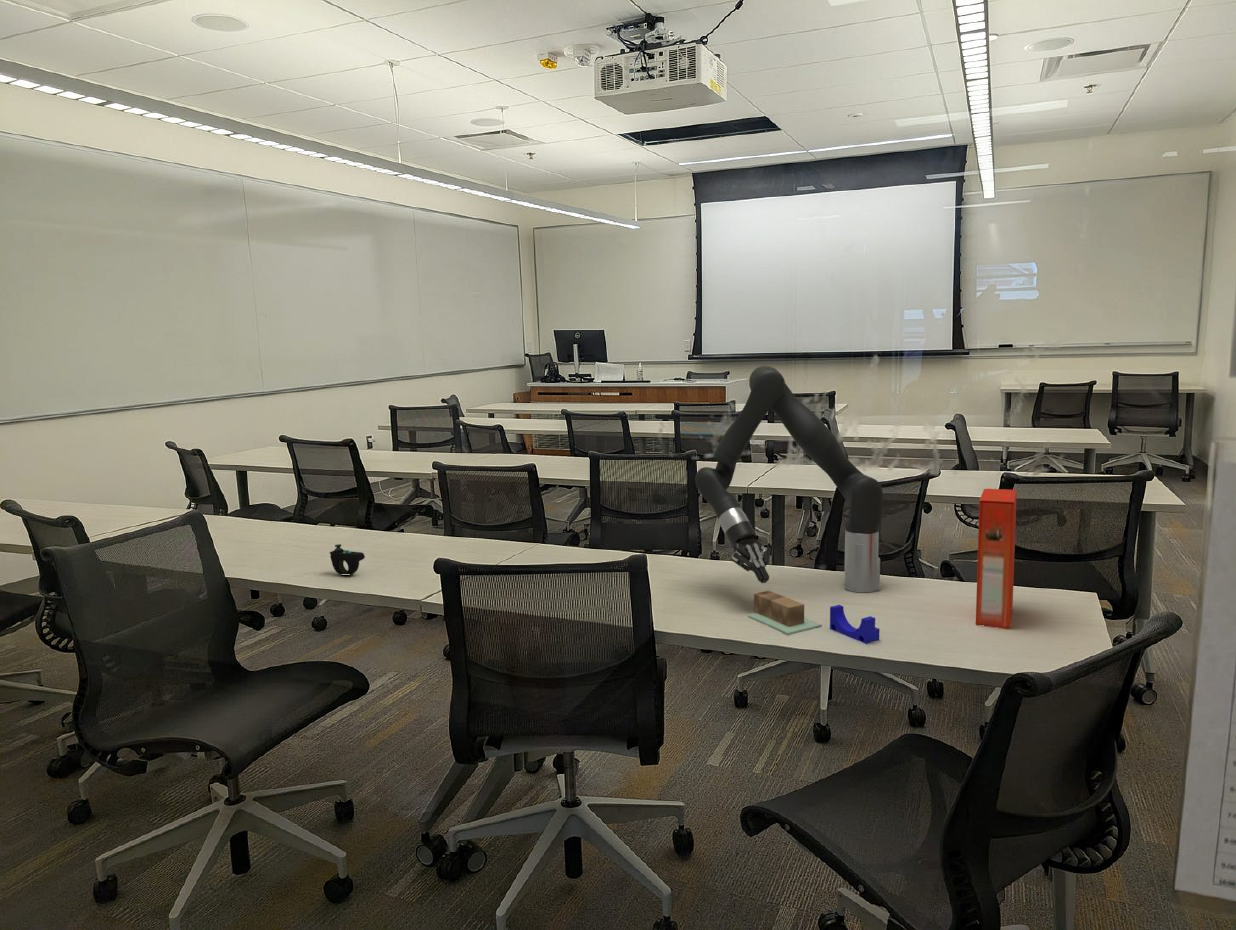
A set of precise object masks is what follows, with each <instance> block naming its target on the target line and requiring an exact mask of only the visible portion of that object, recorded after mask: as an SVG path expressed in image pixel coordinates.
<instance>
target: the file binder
mask: <svg viewBox="0 0 1236 930" xmlns="http://www.w3.org/2000/svg"><path fill="white" fill-rule="evenodd" d="M981 493H982V494H981V495H980V498H979V501H978V502H979V503H978V505H979V506H978V532H977V533H978V534H977V535H978V536H977V537H978V538H977V567H976V569H977V570H976V571H977V572H976V576H977V577H976V597H975V598H976V599H975V600H976V601H975V602H976V604H975V605H976V606H975V610H976V611H975V625H976V624H977V625H976V626H978V625H984V626H983V627H987V626H989V628H995V627H998V629H1004V630H1005V629H1006V630H1008V629H1011V624H1012V614H1013V607H1014V606H1013V603H1014V577H1015V555H1016V554H1015V550H1016V549H1015V548H1016V525H1017V524H1016V523H1017V521H1016V519H1017V518H1016V517H1017V497H1018V496H1017V495H1018V491H1017V489H1005V488H1003V489H1002V488H1001V489H1000V488H983V491H982V492H981ZM990 626H991V627H990Z"/></svg>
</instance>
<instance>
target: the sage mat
mask: <svg viewBox="0 0 1236 930" xmlns="http://www.w3.org/2000/svg"><path fill="white" fill-rule="evenodd" d="M749 617H750V618H749ZM747 618H749V619H752V618H753V619H752V620H754V619H755V620H754V621H756V622H759V623H760V624H762V625H765V624H766V625H765V626H767V625H768V626H767V627H770V628H771V629H773V630H774V629H775V630H776V631H778V632H780V633H783V634H785V635H786V636H787V635H789V636H790V635H793V634H796V633H802V632H805V630H806V631H809V630H813V629H817V628H821V627H822V626H823V625H822V624H821V623H818V622H816V621H814V620H811V619H809V618H806V617H804V623H803V624H799V625H795V626H791V627H788V626H786V625H783V624H781V623H779V622H776V621H774V620H772V619H770V618H767V617H765V616H763V615H760V614H758V613H756V612H754V613H750V614H747Z"/></svg>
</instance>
